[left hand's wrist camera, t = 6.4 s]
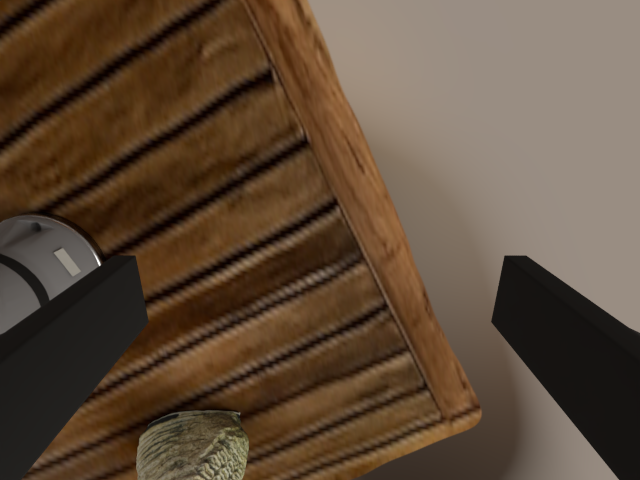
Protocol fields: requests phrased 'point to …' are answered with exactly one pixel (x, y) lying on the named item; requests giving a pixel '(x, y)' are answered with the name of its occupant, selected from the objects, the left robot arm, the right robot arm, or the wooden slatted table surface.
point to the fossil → (193, 447)
